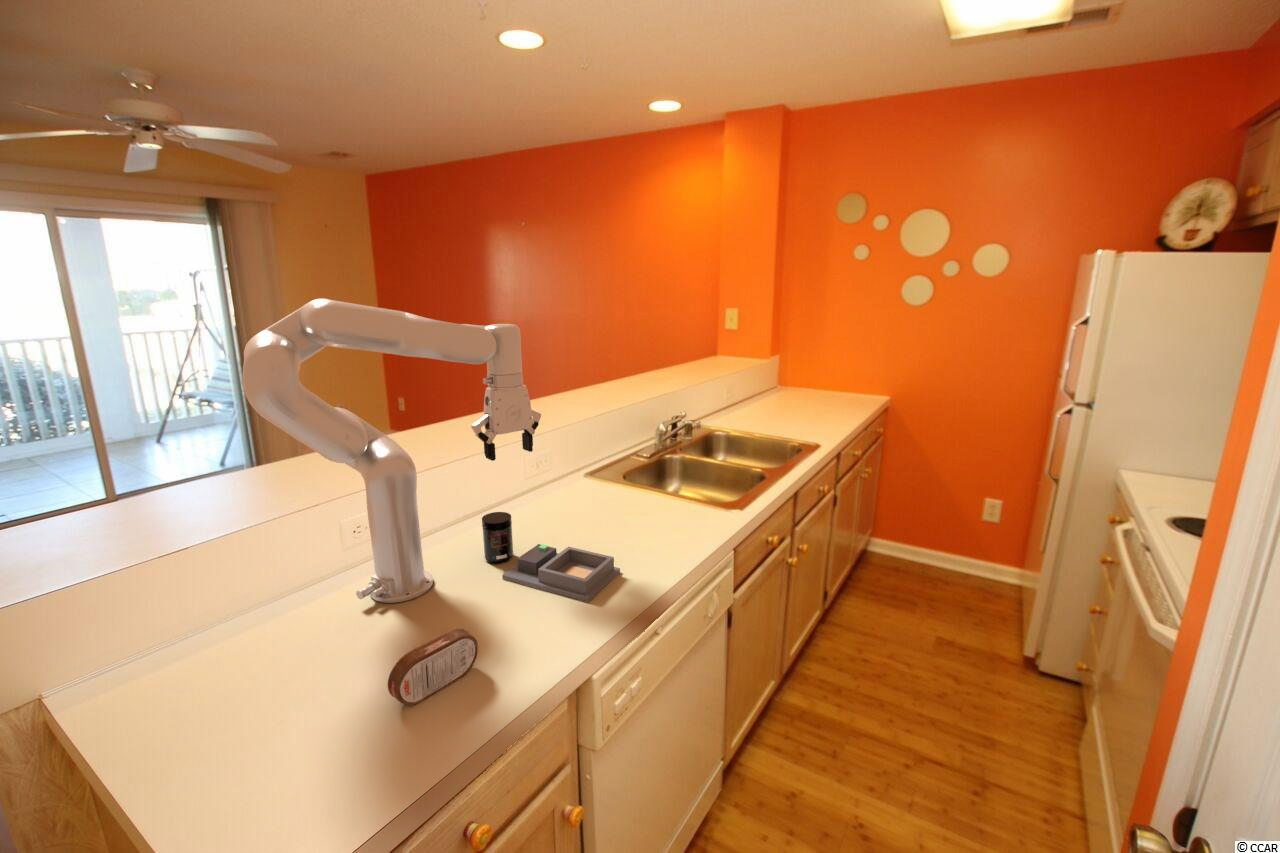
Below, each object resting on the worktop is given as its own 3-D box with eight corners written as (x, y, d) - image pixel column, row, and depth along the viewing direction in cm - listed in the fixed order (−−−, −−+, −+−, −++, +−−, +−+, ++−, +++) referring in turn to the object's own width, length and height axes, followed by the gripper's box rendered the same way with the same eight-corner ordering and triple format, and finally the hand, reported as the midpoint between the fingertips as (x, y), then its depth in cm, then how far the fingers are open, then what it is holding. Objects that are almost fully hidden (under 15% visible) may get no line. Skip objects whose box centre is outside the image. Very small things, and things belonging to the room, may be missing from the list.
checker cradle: (588, 602, 119) (587, 582, 118) (502, 578, 129) (501, 560, 127) (620, 572, 132) (619, 553, 130) (539, 552, 141) (538, 535, 140)
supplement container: (508, 549, 143) (505, 509, 140) (517, 560, 137) (515, 519, 134) (481, 555, 139) (477, 515, 137) (489, 567, 134) (486, 525, 131)
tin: (471, 660, 101) (468, 618, 99) (482, 668, 100) (479, 625, 97) (389, 709, 90) (383, 662, 88) (399, 718, 88) (394, 670, 86)
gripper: (478, 388, 120) (483, 466, 124) (547, 378, 132) (550, 450, 136) (461, 383, 125) (466, 459, 129) (529, 374, 137) (532, 444, 141)
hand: (509, 454), depth 133 cm, fingers open, 9 cm apart
